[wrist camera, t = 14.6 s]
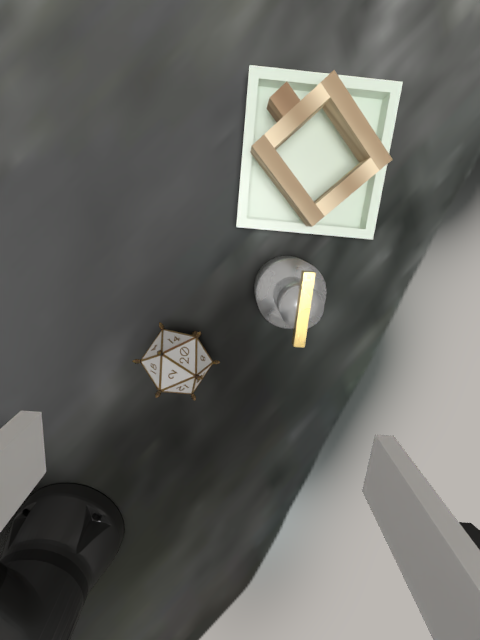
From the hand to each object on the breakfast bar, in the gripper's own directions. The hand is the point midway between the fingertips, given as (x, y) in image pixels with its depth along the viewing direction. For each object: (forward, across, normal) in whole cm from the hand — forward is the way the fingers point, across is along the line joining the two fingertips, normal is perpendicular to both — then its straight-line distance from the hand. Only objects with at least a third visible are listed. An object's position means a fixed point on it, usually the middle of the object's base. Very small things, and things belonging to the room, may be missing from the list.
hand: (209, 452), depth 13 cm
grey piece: (+29, +7, +2) cm, 30 cm away
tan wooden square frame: (+26, +8, +16) cm, 32 cm away
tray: (+29, +8, +16) cm, 34 cm away
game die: (+29, -5, -7) cm, 30 cm away
